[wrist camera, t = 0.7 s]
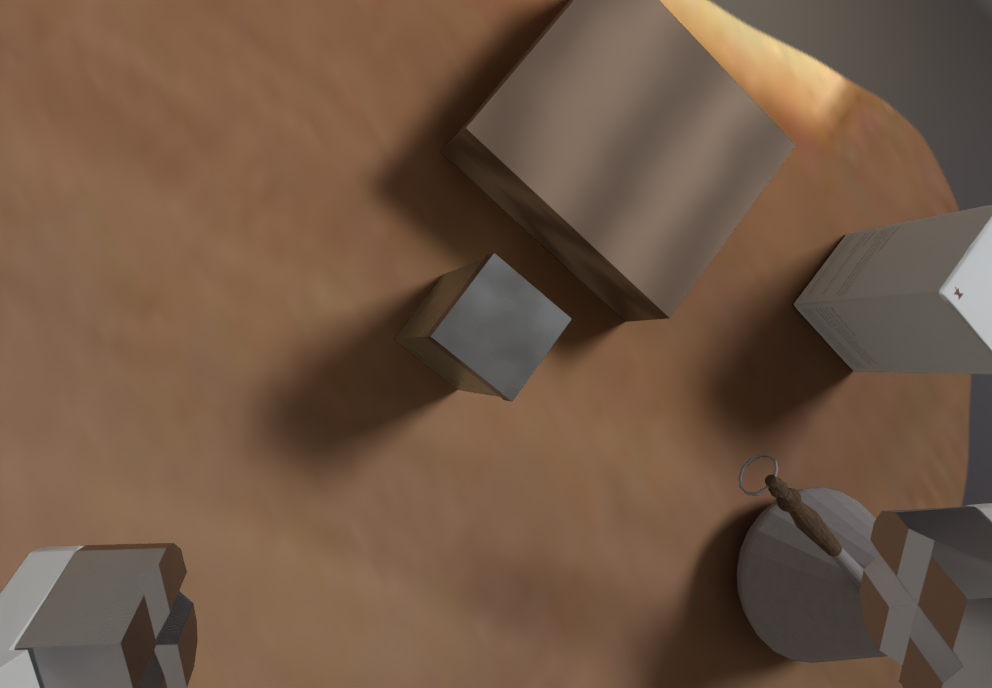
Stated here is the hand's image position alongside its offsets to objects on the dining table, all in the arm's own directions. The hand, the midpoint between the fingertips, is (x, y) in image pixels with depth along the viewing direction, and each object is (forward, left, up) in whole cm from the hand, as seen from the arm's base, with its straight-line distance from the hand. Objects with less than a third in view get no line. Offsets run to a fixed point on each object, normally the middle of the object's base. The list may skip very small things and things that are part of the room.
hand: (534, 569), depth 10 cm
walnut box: (+6, +24, -40) cm, 47 cm away
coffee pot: (+29, +11, -39) cm, 50 cm away
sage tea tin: (+5, +9, -39) cm, 41 cm away
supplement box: (+27, +29, -39) cm, 56 cm away
